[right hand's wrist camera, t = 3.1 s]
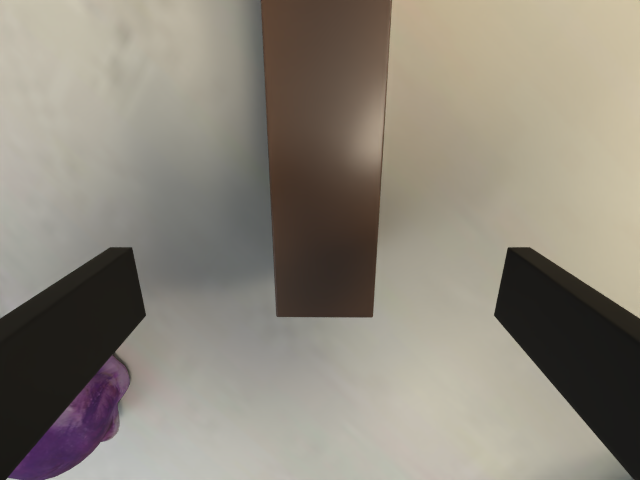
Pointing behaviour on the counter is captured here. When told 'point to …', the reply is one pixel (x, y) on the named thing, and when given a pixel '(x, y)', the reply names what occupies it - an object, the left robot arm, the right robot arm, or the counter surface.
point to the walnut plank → (325, 150)
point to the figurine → (78, 426)
